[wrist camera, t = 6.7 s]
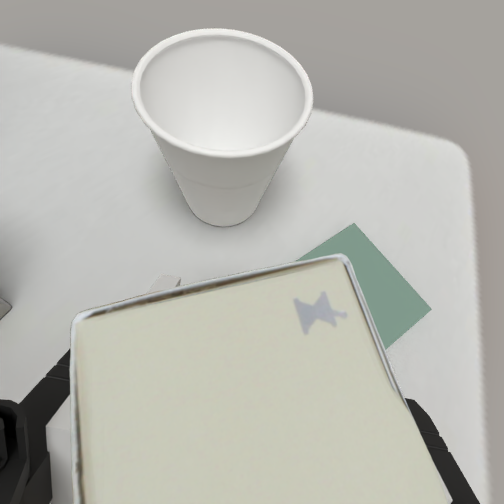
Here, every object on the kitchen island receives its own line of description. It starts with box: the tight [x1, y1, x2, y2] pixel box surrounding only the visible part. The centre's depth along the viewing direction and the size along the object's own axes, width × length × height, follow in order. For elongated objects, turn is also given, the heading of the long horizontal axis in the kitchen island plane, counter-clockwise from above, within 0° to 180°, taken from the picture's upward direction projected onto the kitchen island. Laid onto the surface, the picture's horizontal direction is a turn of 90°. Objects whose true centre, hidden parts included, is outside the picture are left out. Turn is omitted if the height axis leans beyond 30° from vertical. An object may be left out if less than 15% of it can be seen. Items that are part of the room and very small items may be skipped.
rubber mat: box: [295, 223, 432, 350], centre depth 24 cm, size 9×9×1 cm
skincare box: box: [70, 253, 448, 504], centre depth 9 cm, size 6×4×12 cm
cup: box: [131, 29, 313, 226], centre depth 22 cm, size 10×10×11 cm
